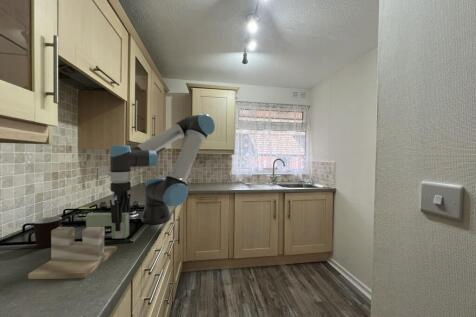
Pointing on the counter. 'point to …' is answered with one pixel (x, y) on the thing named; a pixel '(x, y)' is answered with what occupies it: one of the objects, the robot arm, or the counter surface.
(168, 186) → the robot arm
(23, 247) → the counter surface
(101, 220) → the sage slotted plate
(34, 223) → the coffee mug
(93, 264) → the slotted base
